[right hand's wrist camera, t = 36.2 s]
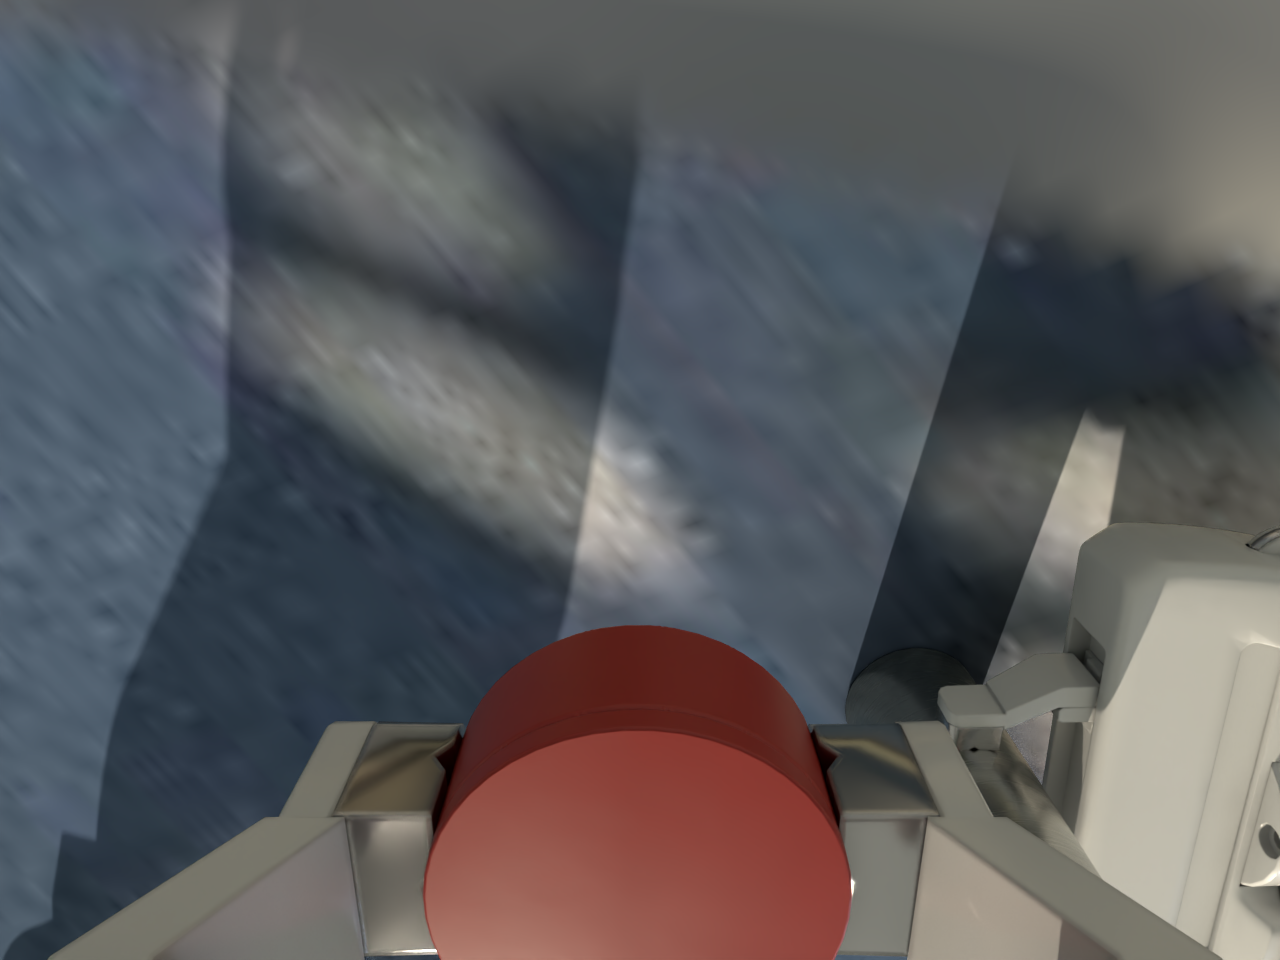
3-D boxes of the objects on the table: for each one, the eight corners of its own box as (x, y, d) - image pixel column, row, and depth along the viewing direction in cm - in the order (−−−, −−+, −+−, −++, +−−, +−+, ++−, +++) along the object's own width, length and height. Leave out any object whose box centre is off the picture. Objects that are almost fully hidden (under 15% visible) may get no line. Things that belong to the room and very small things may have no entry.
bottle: (828, 673, 37) (969, 1044, 22) (956, 629, 37) (1194, 979, 21) (866, 774, 39) (1021, 1180, 24) (989, 733, 38) (1230, 1124, 23)
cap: (739, 950, 11) (759, 1099, 9) (419, 867, 11) (378, 1007, 9) (874, 683, 10) (925, 798, 8) (515, 575, 9) (487, 673, 8)
